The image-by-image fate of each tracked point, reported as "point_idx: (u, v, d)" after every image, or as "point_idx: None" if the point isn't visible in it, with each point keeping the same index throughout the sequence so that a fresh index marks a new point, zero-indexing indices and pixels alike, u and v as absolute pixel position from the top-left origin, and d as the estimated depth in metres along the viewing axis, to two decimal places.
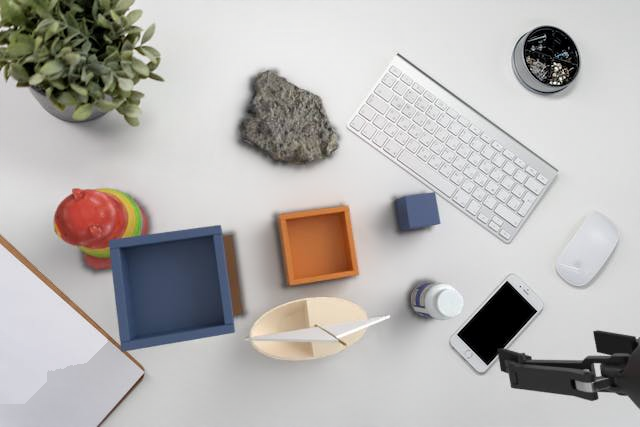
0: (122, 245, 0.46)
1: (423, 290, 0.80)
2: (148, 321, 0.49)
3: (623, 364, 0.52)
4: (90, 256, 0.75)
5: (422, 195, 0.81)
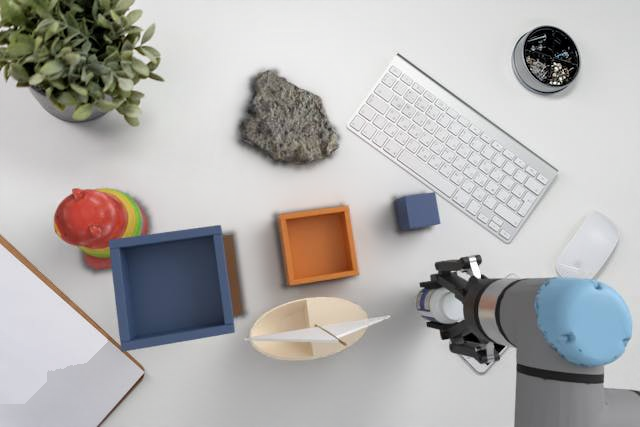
0: (122, 245, 0.46)
1: (428, 293, 0.78)
2: (148, 321, 0.49)
3: None
4: (90, 256, 0.75)
5: (422, 195, 0.81)
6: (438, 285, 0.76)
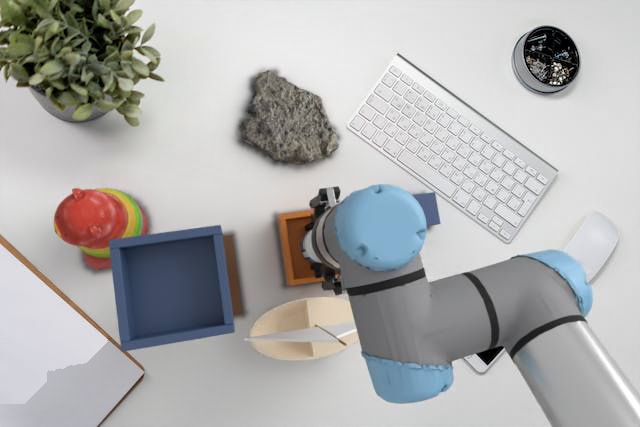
0: (122, 245, 0.46)
1: (306, 233, 0.77)
2: (148, 321, 0.49)
3: None
4: (90, 256, 0.75)
5: (422, 195, 0.81)
6: (314, 224, 0.76)
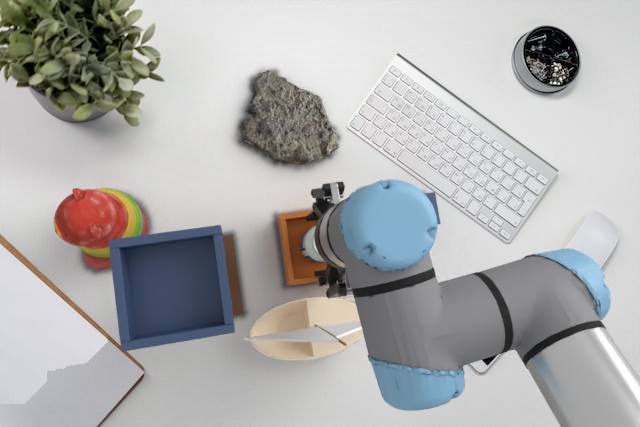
0: (122, 245, 0.46)
1: (306, 232, 0.77)
2: (148, 321, 0.49)
3: None
4: (90, 256, 0.75)
5: None
6: (316, 214, 0.73)
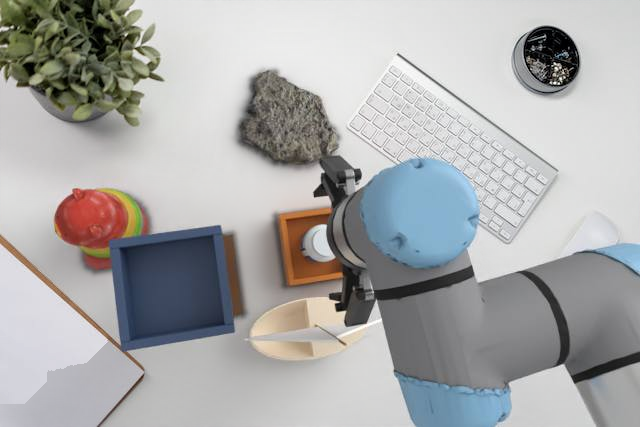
0: (122, 245, 0.46)
1: (306, 232, 0.77)
2: (148, 321, 0.49)
3: None
4: (90, 256, 0.75)
5: None
6: (325, 186, 0.64)
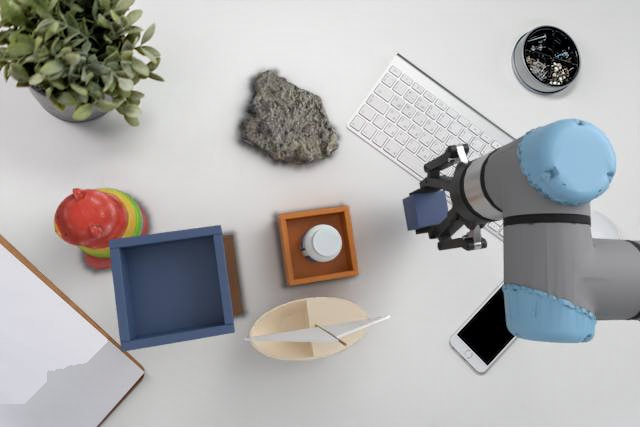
0: (122, 245, 0.46)
1: (306, 232, 0.77)
2: (148, 321, 0.49)
3: None
4: (90, 256, 0.75)
5: (431, 193, 0.78)
6: (427, 189, 0.76)
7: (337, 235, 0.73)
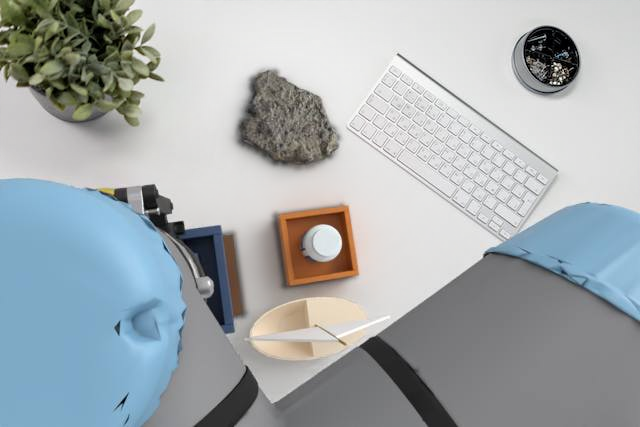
0: None
1: (306, 232, 0.77)
2: None
3: None
4: None
5: None
6: None
7: (337, 235, 0.73)
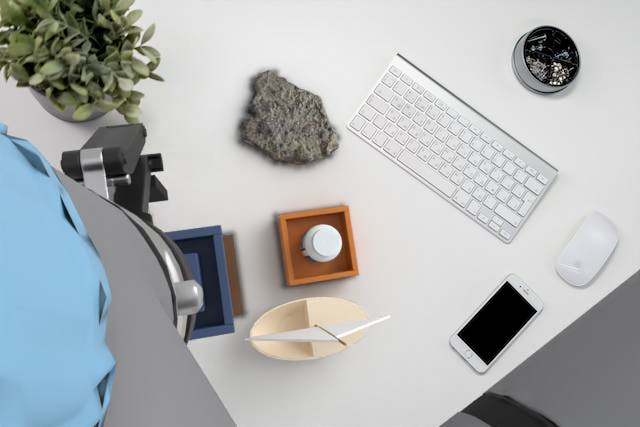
0: None
1: (306, 232, 0.77)
2: None
3: None
4: None
5: None
6: None
7: (337, 235, 0.73)
